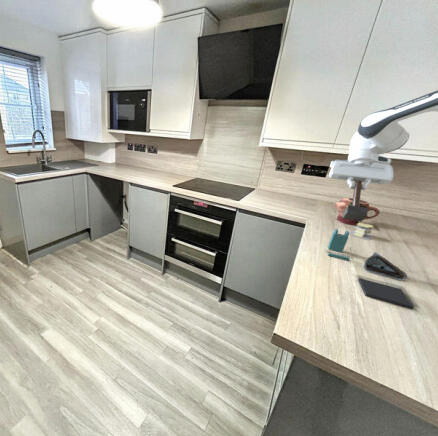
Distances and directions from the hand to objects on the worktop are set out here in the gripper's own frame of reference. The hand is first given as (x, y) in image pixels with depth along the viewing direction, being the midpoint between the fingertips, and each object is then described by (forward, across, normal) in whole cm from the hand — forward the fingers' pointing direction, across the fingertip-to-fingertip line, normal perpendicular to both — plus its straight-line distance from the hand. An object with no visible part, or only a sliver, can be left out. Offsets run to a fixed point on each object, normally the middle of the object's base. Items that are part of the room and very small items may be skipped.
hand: (357, 188), depth 96 cm
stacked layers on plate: (0, +15, +40) cm, 43 cm away
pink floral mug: (-14, +14, +54) cm, 58 cm away
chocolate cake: (+29, +13, +11) cm, 33 cm away
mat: (+41, +9, -2) cm, 42 cm away
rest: (+23, 0, +16) cm, 28 cm away
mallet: (+11, 0, +5) cm, 12 cm away
